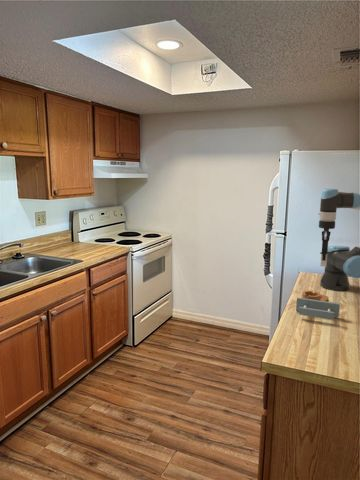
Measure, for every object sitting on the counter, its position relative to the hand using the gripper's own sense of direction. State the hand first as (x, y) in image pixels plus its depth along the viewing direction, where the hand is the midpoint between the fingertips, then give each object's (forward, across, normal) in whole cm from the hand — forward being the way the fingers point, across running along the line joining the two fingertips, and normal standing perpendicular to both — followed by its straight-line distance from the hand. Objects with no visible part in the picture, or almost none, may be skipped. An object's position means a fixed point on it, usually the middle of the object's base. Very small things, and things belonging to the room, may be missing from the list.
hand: (323, 266), depth 183 cm
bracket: (+17, +14, -2) cm, 22 cm away
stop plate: (+16, +30, 0) cm, 34 cm away
